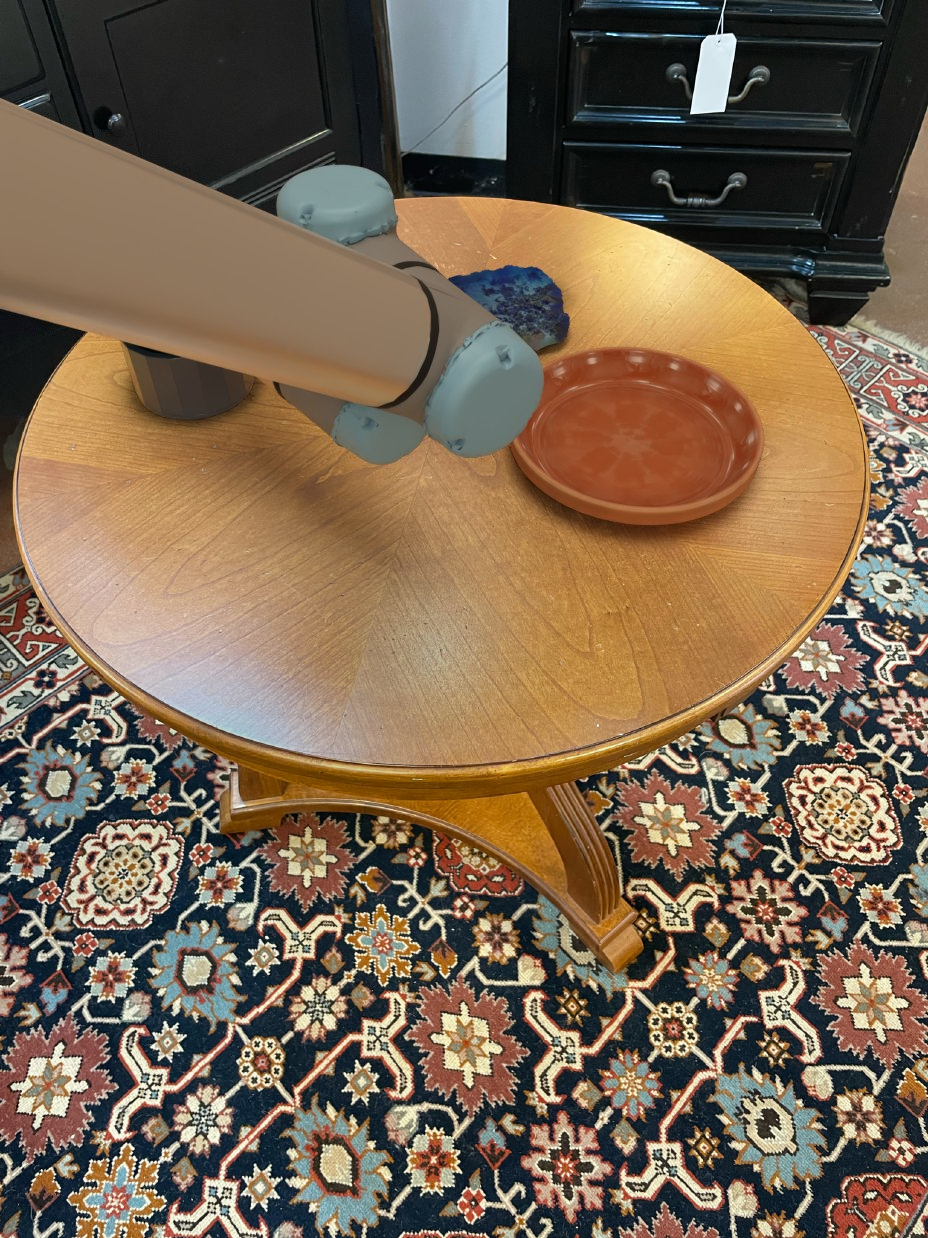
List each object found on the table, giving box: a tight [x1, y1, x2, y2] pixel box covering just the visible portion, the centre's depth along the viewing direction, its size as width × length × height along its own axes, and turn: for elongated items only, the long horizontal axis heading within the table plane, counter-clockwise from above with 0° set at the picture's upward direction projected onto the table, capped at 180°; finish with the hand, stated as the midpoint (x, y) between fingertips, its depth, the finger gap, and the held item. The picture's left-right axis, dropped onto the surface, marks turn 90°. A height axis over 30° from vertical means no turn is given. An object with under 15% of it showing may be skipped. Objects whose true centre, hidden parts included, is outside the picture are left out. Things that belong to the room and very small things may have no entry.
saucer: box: [509, 346, 766, 526], centre depth 87 cm, size 23×23×4 cm
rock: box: [447, 264, 571, 352], centre depth 102 cm, size 15×17×2 cm
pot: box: [118, 340, 255, 421], centre depth 93 cm, size 11×11×7 cm
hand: (129, 224), depth 87 cm, fingers closed on lid, 3 cm apart
